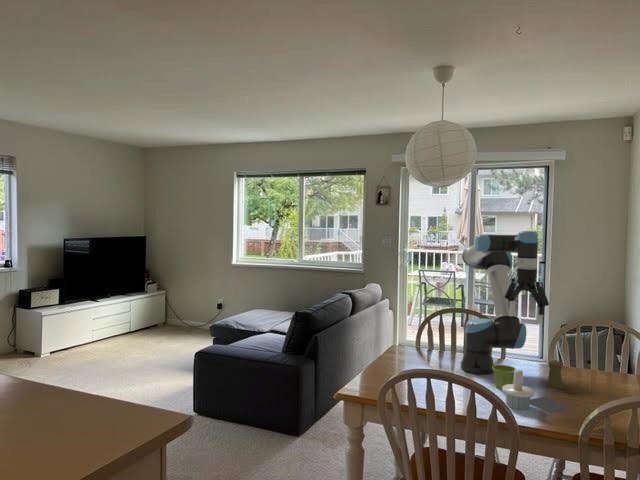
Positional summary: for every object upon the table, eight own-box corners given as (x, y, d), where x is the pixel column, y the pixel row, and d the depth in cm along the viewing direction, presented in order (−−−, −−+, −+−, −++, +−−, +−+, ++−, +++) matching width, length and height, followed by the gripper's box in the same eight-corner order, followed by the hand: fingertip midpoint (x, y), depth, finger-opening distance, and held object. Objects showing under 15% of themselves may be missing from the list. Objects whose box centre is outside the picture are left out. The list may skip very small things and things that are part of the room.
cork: (564, 389, 195) (565, 363, 195) (549, 388, 197) (550, 362, 196) (560, 385, 201) (561, 359, 201) (545, 383, 203) (546, 358, 202)
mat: (522, 402, 181) (522, 401, 181) (544, 397, 186) (544, 396, 186) (549, 414, 170) (550, 412, 170) (572, 408, 175) (572, 407, 175)
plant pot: (514, 394, 189) (515, 373, 189) (489, 390, 194) (490, 369, 194) (517, 387, 198) (517, 367, 197) (493, 383, 202) (494, 363, 202)
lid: (495, 389, 179) (496, 368, 179) (516, 385, 184) (517, 364, 184) (519, 399, 170) (519, 377, 169) (540, 394, 174) (541, 373, 174)
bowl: (501, 404, 179) (501, 390, 179) (516, 401, 182) (517, 387, 182) (518, 412, 172) (518, 397, 172) (534, 408, 175) (534, 394, 175)
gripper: (497, 265, 205) (495, 314, 206) (546, 271, 183) (544, 326, 184) (509, 265, 209) (508, 313, 210) (559, 271, 186) (558, 324, 187)
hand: (525, 319), depth 197 cm, fingers open, 13 cm apart
